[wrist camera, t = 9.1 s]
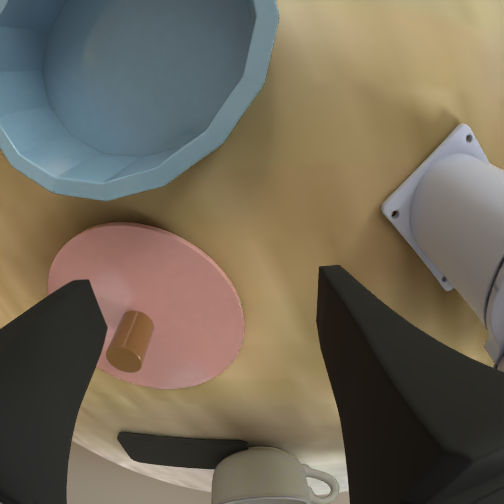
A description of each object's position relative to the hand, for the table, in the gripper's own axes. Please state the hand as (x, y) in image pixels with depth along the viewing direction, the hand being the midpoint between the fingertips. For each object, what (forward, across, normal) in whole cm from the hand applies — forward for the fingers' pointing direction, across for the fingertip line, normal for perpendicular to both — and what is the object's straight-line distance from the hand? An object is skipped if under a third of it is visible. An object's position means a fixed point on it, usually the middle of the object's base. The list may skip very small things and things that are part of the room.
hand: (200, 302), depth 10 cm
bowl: (+9, +4, -9) cm, 14 cm away
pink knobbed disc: (+9, +7, +8) cm, 14 cm away
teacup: (+9, -1, +30) cm, 32 cm away
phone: (+9, +8, +29) cm, 32 cm away
